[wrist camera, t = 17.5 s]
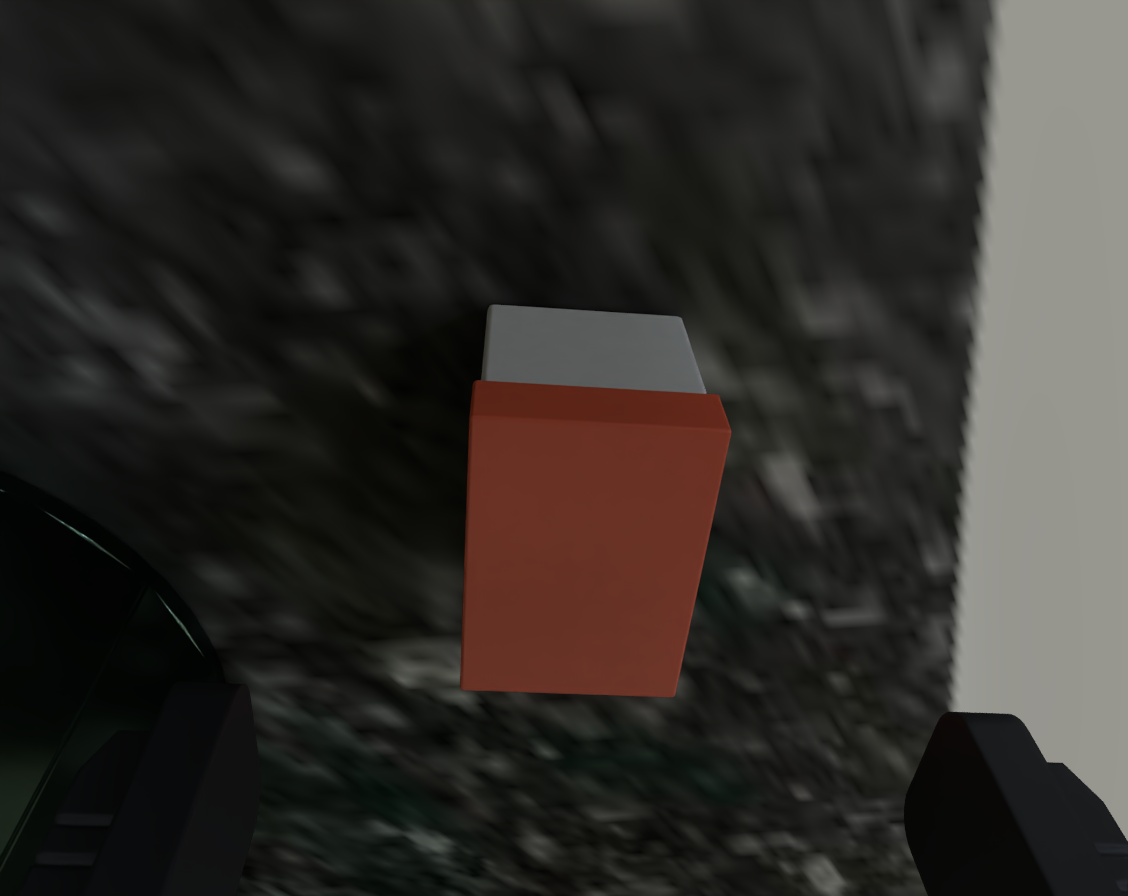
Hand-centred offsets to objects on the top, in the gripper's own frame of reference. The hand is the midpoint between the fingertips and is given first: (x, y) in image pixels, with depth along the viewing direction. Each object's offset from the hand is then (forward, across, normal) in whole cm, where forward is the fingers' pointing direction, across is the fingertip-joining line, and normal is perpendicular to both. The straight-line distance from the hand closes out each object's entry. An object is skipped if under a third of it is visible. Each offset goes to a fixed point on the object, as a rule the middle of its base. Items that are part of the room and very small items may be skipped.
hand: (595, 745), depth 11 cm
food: (+7, 0, 0) cm, 7 cm away
